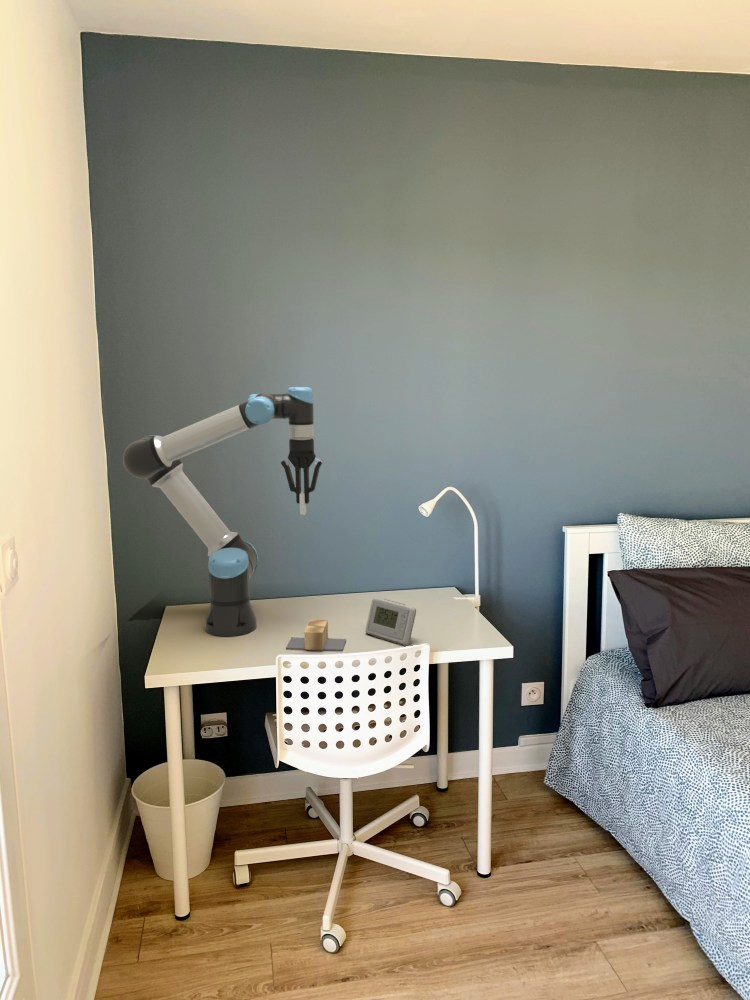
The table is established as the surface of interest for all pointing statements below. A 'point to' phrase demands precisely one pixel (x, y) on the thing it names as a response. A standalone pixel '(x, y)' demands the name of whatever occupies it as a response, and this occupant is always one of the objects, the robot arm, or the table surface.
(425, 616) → the table surface
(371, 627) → the digital clock
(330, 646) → the mat
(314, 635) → the oak block
